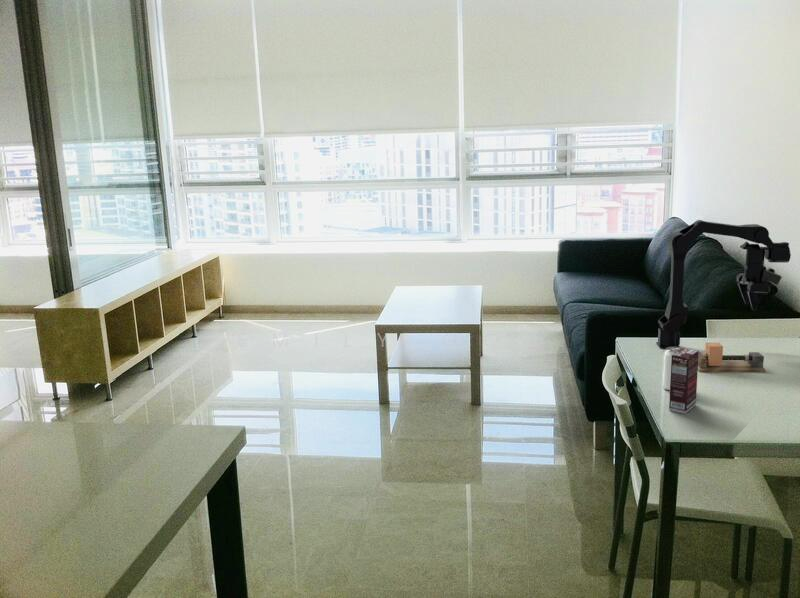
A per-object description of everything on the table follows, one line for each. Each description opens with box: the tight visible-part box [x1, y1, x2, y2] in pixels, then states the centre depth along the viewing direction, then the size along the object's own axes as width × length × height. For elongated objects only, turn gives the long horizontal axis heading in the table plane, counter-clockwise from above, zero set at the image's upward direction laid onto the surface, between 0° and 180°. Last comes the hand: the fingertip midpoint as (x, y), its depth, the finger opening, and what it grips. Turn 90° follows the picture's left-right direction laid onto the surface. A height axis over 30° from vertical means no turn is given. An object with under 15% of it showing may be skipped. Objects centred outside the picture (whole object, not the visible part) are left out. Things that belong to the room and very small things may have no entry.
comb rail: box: [698, 351, 767, 373], centre depth 238 cm, size 20×9×4 cm, turn 85°
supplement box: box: [668, 347, 700, 415], centre depth 204 cm, size 9×5×16 cm, turn 141°
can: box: [662, 346, 683, 392], centre depth 220 cm, size 6×6×12 cm
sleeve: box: [704, 342, 724, 366], centre depth 238 cm, size 4×4×6 cm
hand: (750, 307), depth 256 cm, fingers open, 9 cm apart
